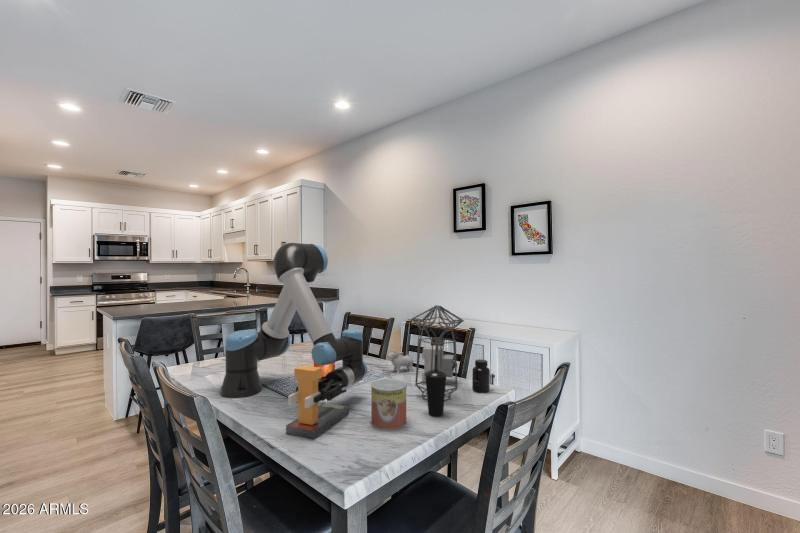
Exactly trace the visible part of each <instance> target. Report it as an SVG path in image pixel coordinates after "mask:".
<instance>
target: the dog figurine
mask: <svg viewBox="0 0 800 533" xmlns="http://www.w3.org/2000/svg"><path fill="white" fill-rule="evenodd" d="M386 357H387V359H389V360H391V364H392V366H393V372H396V373H395V374H399V373H400V371H401V367H406V368H405V371H409V373H412V372H413V365H414V364H413V363H414V359H413V357H412V355H411V354H406V355H404V352H403V351H399V352H398V351H397V350H396V349H391V352H389V353H387V354H386Z"/></svg>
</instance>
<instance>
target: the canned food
mask: <svg viewBox="0 0 800 533" xmlns="http://www.w3.org/2000/svg"><path fill="white" fill-rule="evenodd" d="M407 385H408V384H407V383H406V382H404V381H402V380H398V379H381V380H377V381H374V382H372V383H371V385H370V387H371V389H370V390H371V398H370V399H371V404H370V405H371V421H370V424H371V426H372V427H374V428H376V429H379V430H382V431H392V430H398V429H402V428H403V427H405V426H406V425H407V422H408V421H407Z"/></svg>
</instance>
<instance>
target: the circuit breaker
mask: <svg viewBox="0 0 800 533" xmlns="http://www.w3.org/2000/svg"><path fill="white" fill-rule="evenodd" d="M435 347H436V345H433V368H432V370H433V369H434V365H435ZM431 354H432V344H431V345H430V344H429V345H424V347H423V348H422V353H421V355H422V356H421V357H422V359H423V360H424V367H423V368H424V370H423V371H422V373H421V374H422V376H421V378H422V381H421V382H424V381H426V378H425V372H427V371H429V370H431ZM436 354H437V353H436ZM456 365H457V366H458V363H457V362H456ZM438 366H439V370H440V345H438ZM442 371H444V372H446V373H447V377H446V378H453V375H454V373H455V363H454V354H444V346H443V345H442ZM421 385H425V386H426V383H421Z"/></svg>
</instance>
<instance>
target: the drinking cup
mask: <svg viewBox="0 0 800 533" xmlns="http://www.w3.org/2000/svg"><path fill="white" fill-rule="evenodd" d="M425 378H426V385H425V386H426V388H425V389H427V391H426V393H427V394H426V395H427V396H426V399H427V400H426V401H427V410H428V415H429V416H430V417H435V418H438V417H442V416H444V409H445V408H444V406H445V401H444V400H445V399H446V398H445V397H446V396H445V394H446V392H445V390H446V384H447V383H446V382H447V378H448V377H447V373H446V372H444V371H442V370H438V369H437V354H435V369H433V370H429V371H427V372H425Z"/></svg>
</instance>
